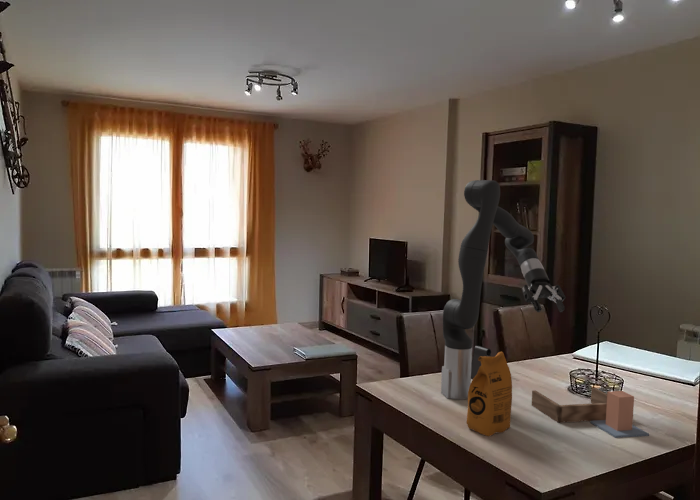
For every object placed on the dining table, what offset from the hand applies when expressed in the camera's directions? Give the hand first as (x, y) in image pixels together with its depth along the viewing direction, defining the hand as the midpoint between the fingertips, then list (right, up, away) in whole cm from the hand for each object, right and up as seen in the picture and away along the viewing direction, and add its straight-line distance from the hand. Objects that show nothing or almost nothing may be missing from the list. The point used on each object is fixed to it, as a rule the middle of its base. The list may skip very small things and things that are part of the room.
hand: (551, 310), depth 177 cm
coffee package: (-28, -32, -25) cm, 49 cm away
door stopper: (-18, -29, +24) cm, 42 cm away
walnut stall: (+5, -31, -10) cm, 33 cm away
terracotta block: (+11, -32, -23) cm, 41 cm away
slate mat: (+11, -32, -23) cm, 41 cm away
